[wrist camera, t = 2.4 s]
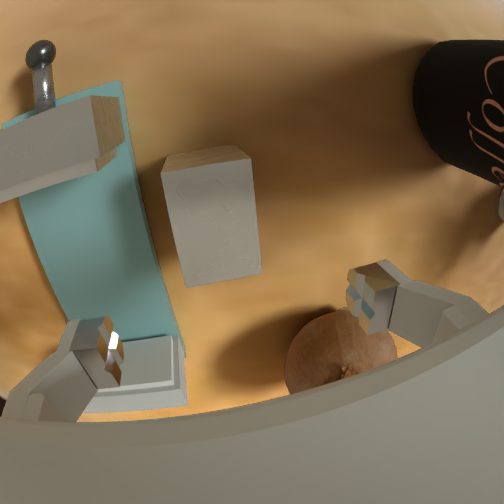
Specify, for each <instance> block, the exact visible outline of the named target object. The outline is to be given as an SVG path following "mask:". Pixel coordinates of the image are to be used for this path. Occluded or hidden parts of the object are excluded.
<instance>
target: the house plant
mask: <svg viewBox="0 0 504 504" xmlns="http://www.w3.org/2000/svg"><path fill="white" fill-rule="evenodd" d="M499 216H500V218H501V219H502V220H503V221H504V188H503V190H502V192H501V195H500V200H499Z"/></svg>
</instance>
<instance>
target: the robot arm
mask: <svg viewBox="0 0 504 504" xmlns="http://www.w3.org/2000/svg"><path fill="white" fill-rule="evenodd" d="M347 280H348V282H349V283H350V286H349V287H348V289H347V290H346V302H347V306H348V309H349V311H350V312H351V314H352V315H353V316H355V317H358V318H359V325H360V326H361V327H362V329H363V330H364V331H365V333H366V334H367V335H370V334H373V333H377V332H380V331H383V330H386V329H388V330H389V331H391V332H393V333H395V334H397V335H399V336H400V337H402V338H404V339H406V340H408V341H410V342H412V343H414V344H415V345H417V346H419V347H421V349H419V350H417V351H414V352H412V353H410V354H408V355H405V356H403V357H400V358H398V359H396V360H393V361H391V362H388V363H386V364H383V365H380V366H378V367H375V368H373V369H370V370H367V371H364V372H362V373H359V374H356V375H353V376H350V377H347V378H344V379H341V380H338V381H335V382H332V383H329V384H325V385H322V386H319V387H315V388H312V389H309V390H305V391H301V392H298V393H294V394H290V395H287V396H283V397H279V398H275V399H270V400H266V401H262V402H257V403H253V404H248V405H243V406H239V407H233V408H228V409H223V410H217V411H211V412H205V413H198V414H192V415H184V416H176V417H168V418H158V419H148V420H135V421H118V422H76V421H77V420H78V418H79V417H80V415H81V414H82V413H83V411H84V410H85V408H86V407H87V405H88V404H89V402H90V401H91V400H92V398H93V397H94V395H95V394H96V392H97V391H98V390H97V389H106V388H115V387H120V381H121V374H122V371H121V370H120V368H119V366H120V365H121V364H122V363H123V359H124V351H123V345H122V342H121V340H120V337H119V335H117V334H116V333H114V332H113V327H114V325H113V323H112V321H111V319H110V317H108V316H101V317H94V318H85V319H78V320H71V321H69V322H67V325H66V327H65V330H64V332H63V335H62V337H61V340H60V342H59V345H58V347H57V350H56V352H53V353H51V354H50V355H49V356H48V357H47V358H46V359H44V360H43V361H42V362H41V363H40V364H39V365H38V366H37V367H36V368H35V369H34V370H33V371H31V372H30V373H29V374H28V375H27V376H26V377H25V378H24V379H23V380H22V381H21V382H20V383H19V384H18V385H17V386H16V387H14V388H13V389H12V390H11V391H10V393H9V396H8V399H7V402H6V404H5V407H4V410H3V413H2V416H1V417H0V504H504V305H503V306H502V307H500V308H498V309H497V310H495V311H493V312H491V313H490V314H489V313H488V312H487V311H486V310H485V309H483V308H482V307H481V306H480V305H479V304H478V303H477V302H476V301H474V300H473V299H472V298H471V297H469V296H465V295H462V294H459V293H456V292H453V291H449V290H446V289H443V288H440V287H437V286H433V285H430V284H427V283H424V282H420V281H417V280H414V281H412V280H411V279H410V278H408V277H407V276H406V275H405V274H404V273H403V272H402V271H401V270H399V269H398V268H397V267H396V266H395V265H394V264H392V263H391V262H390V261H389V260H382V261H378V262H375V263H372V264H368V265H364V266H360V267H356V268H352V269H349V271H348V275H347Z"/></svg>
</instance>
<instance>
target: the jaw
mask: <svg viewBox="0 0 504 504" xmlns="http://www.w3.org/2000/svg"><path fill="white" fill-rule="evenodd" d="M55 55H56V48H55V45H54V44H53V43H52V42H51V41H48V40H40V41H38V42H36V43H34V44H33V45H32V46H31V47H30V48H29V49H28V51H27V53H26V58H25V61H26V65H27V66H28V68H29V69H31V73H32V84H33V93H34V102H35V109H36V115H34V116H32V117H30V118H27V119H25V120H23V121H21V122H18V123H16V124H14V125H12V126H10V127H8V128H6V129H4V130H1V131H0V203H3V202H6V201H8V200H11V199H14V198H16V197H19V196H22V195H25V194H28V193H30V192H33V191H36V190H39V189H42V188H45V187H49V186H52V185H55V184H58V183H61V182H65V181H68V180H71V179H75V178H78V177H82V176H85V175H89V174H93V173H96V172H98V171H99V170H101V169H102V168H103V167H104V166H106V165H107V164H108V163H109V162H110V161H112V160H113V159H114V158H115V157H117V156H118V155H119V152H118V147H117V146H119V145H120V144H122V143H124V142H125V135H124V130H123V124H122V117H121V111H120V104H119V97H110V96H95V95H89V96H86V97H83V98H80V99H77V100H74V101H71V102H68V103H65V104H63V105H60V106H57V107H56V100H55V92H54V84H53V74H52V62H53V60H54V58H55Z"/></svg>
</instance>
